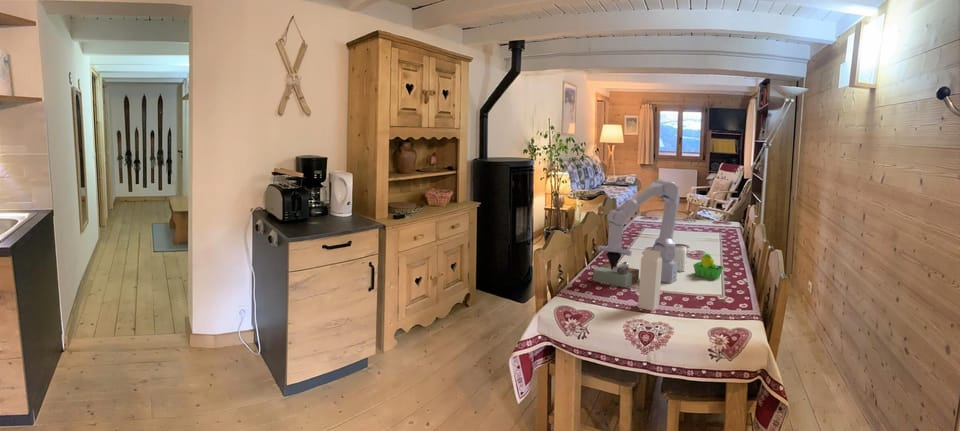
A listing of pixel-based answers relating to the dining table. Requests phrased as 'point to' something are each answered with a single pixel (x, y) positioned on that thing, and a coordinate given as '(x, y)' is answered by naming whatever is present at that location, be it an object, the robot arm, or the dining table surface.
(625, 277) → the grey-green rectangular block
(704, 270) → the fruit basket
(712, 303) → the dining table surface
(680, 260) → the can
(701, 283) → the dining table surface
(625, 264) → the lock bar
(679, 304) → the dining table surface
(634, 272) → the jamb
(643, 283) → the milk
